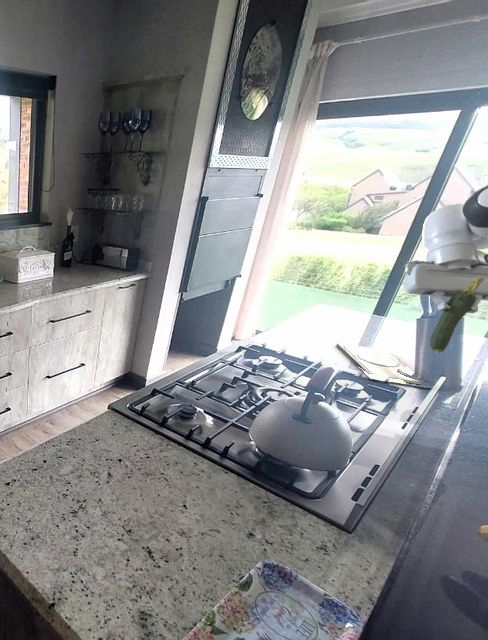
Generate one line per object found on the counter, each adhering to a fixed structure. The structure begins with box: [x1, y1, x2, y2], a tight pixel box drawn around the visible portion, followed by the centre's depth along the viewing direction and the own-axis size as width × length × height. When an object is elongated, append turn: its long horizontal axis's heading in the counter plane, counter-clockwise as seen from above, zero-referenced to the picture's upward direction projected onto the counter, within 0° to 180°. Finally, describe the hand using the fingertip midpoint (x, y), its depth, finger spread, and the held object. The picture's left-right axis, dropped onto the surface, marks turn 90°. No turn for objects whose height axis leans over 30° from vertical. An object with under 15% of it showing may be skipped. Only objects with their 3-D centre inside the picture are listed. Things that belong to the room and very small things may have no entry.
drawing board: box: [335, 343, 422, 385], centre depth 125 cm, size 14×26×1 cm, turn 160°
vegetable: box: [429, 276, 484, 354], centre depth 103 cm, size 4×4×20 cm
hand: (458, 311), depth 101 cm, fingers closed on vegetable, 4 cm apart
